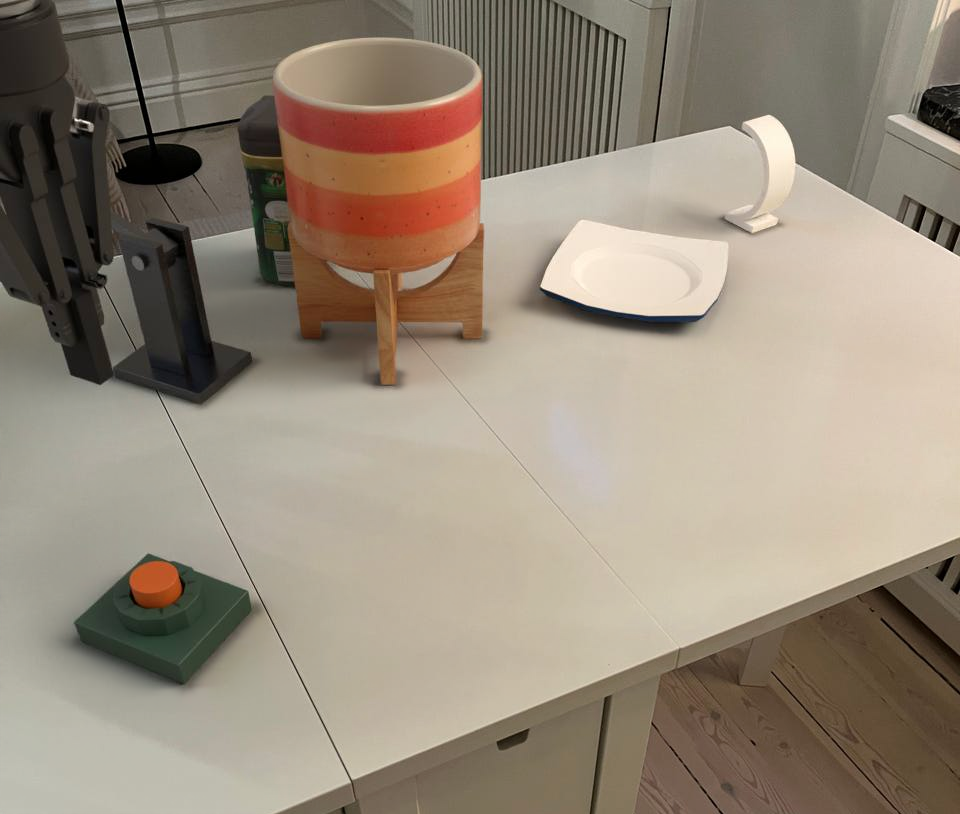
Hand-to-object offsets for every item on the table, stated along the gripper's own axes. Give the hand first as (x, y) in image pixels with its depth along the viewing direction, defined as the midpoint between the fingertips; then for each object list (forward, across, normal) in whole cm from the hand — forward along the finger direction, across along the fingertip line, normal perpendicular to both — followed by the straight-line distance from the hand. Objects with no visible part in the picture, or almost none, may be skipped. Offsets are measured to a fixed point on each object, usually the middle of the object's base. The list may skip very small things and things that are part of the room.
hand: (92, 374), depth 73 cm
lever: (+5, +26, +21) cm, 34 cm away
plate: (+19, +65, -20) cm, 70 cm away
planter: (+19, +42, 0) cm, 46 cm away
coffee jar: (+19, +50, +18) cm, 56 cm away
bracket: (+19, +26, +16) cm, 36 cm away
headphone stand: (+19, +88, -27) cm, 94 cm away
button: (+15, -5, -6) cm, 17 cm away
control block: (+18, -5, -6) cm, 20 cm away
